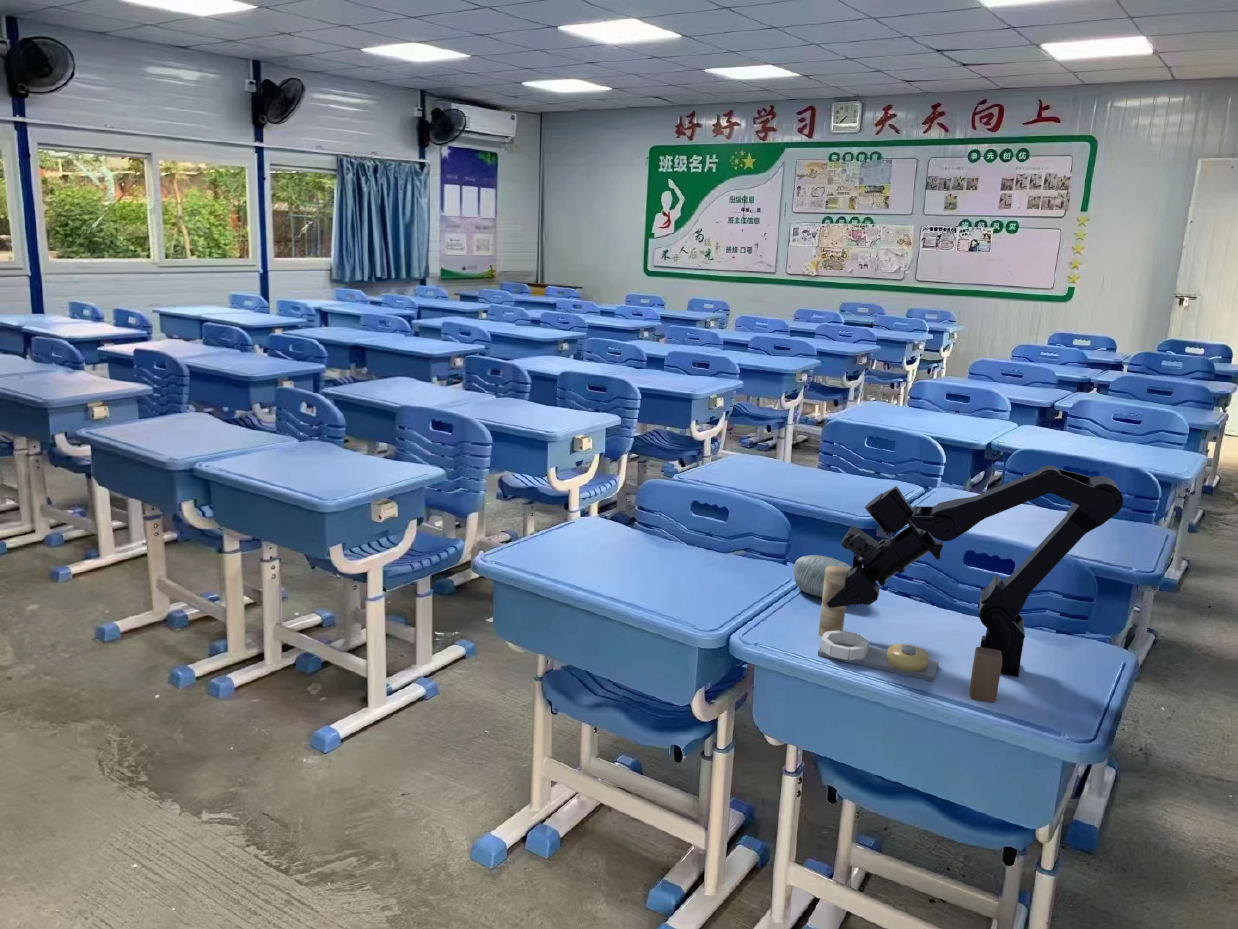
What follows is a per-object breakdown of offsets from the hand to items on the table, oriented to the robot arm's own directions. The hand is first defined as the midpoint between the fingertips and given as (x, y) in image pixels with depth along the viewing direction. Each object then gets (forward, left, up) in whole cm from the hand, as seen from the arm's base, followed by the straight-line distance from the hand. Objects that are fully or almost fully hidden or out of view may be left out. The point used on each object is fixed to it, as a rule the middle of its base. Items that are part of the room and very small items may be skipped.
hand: (831, 597), depth 178 cm
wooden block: (-29, +12, -8) cm, 32 cm away
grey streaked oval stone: (+5, -20, -8) cm, 22 cm away
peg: (-1, 0, -7) cm, 8 cm away
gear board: (-11, +7, -7) cm, 15 cm away
